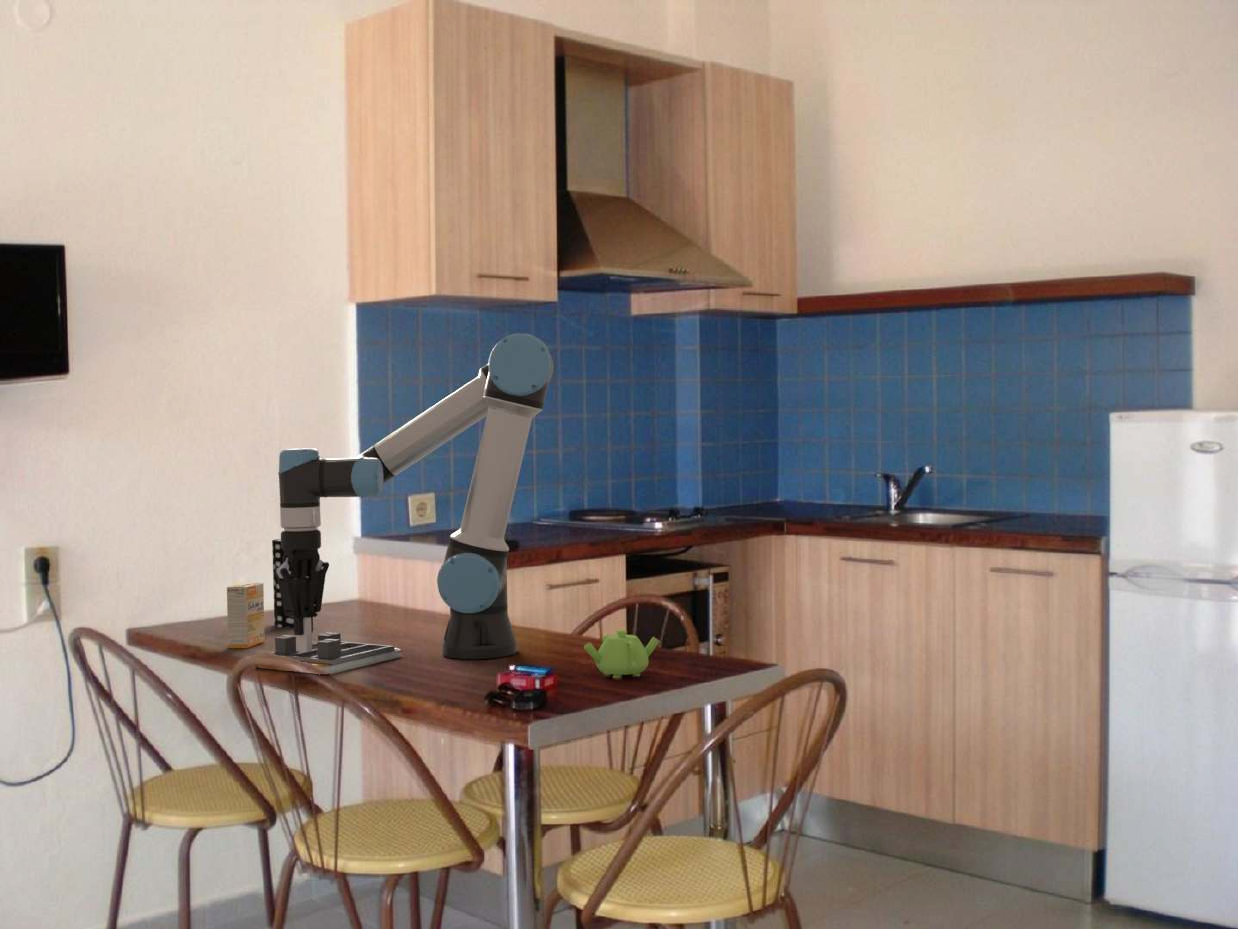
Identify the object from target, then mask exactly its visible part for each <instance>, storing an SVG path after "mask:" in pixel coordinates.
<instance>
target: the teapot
mask: <svg viewBox="0 0 1238 929" xmlns="http://www.w3.org/2000/svg"><path fill="white" fill-rule="evenodd" d="M627 633H628V631H627V630H625V629H618V630H616V634H613V635H612V634H611V635H604V636H603V637H602V638H601V640H602V643H601V645H600V647H599V649H598V650H597V649H596V648H595V646H594V645H593V644H592V642H587V643H585V645H584V646H583V649H584V650H585V651H586V652H587V653H588V655H589V656H590V657H591V658H592V659H593V660H594V662H595V665H596V667H597V669H598V670H599V671H600V672H601V673H602V674H603V675H604V674H605V675H611V674H613V675H612V678H620V677H621V678H622V676H625V675H631V676H632V675H633V676H640V675H641V673H643V672H644V671H645V670H646V669H647V668H648V666H649V664H650V663H649V657H650V656H651V654H652V653H653V652H654V650H655V649H656V648H657V646H658V645H659V643H660V642H661V641H660V640H659V639H658V638H656V637H654V636H652V637H651V639H650V641H649V642H648V643H647V645H646V646H644V645H643V643H642V642H641V640H640V638H639V637H638V636H637V635H634V634H627ZM633 676H632V677H633Z"/></svg>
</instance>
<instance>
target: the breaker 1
mask: <svg viewBox="0 0 1238 929" xmlns="http://www.w3.org/2000/svg"><path fill="white" fill-rule="evenodd" d="M274 640H275V641H274V643H275V645H274V646H275V651H276V654H280V655H292V654H296V653H299V652H298V651H296V635H295V634H294V635H293V634H287V635H286V634H285V635H284V634H283V635H281V636H277V637H274Z"/></svg>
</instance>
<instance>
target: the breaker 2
mask: <svg viewBox="0 0 1238 929" xmlns="http://www.w3.org/2000/svg"><path fill="white" fill-rule="evenodd" d="M341 640H342V639H341ZM341 640H339V639H324V640H322V641H318V640H317V641H316V643H317V648H318V658H320V659H330V660H331V659H335V658H340V657H341Z"/></svg>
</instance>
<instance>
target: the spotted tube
mask: <svg viewBox="0 0 1238 929" xmlns="http://www.w3.org/2000/svg"><path fill="white" fill-rule="evenodd" d="M271 544H272V545H271V546H272V548H271V549H272V552H271V553H272V574H273V575H272V576H273V579H272V580H273V584H272V585H273V586H272V588H273V615H274V616H273V618H274V619H273V620H274V623H273V624H274V627H276V628H289V629H291V628H292V629H293V628H294V620H293V618H290V617H289V616H286V615H285V612H284V608H283V603H282V598H281V593H280V589H279V584H278V579H277V578H276V576H275V574H274V568H279V567H280V566H281V565H282V564H283V558H284V550H283V549H282V548H281V538H277V539H272V542H271Z"/></svg>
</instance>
